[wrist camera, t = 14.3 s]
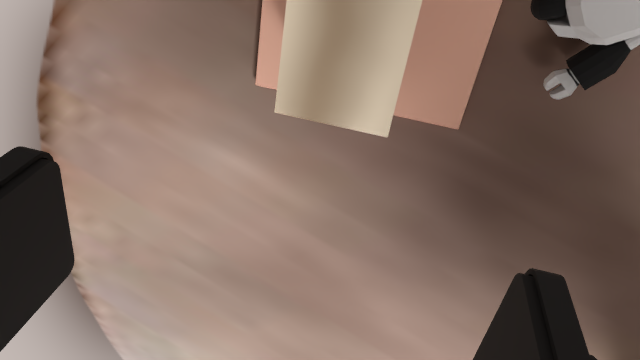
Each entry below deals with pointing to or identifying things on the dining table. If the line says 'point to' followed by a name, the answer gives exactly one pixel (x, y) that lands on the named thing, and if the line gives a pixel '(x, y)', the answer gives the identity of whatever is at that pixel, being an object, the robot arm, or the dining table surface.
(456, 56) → the terracotta mat
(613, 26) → the robot toy
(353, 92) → the birch stool
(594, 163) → the dining table surface
